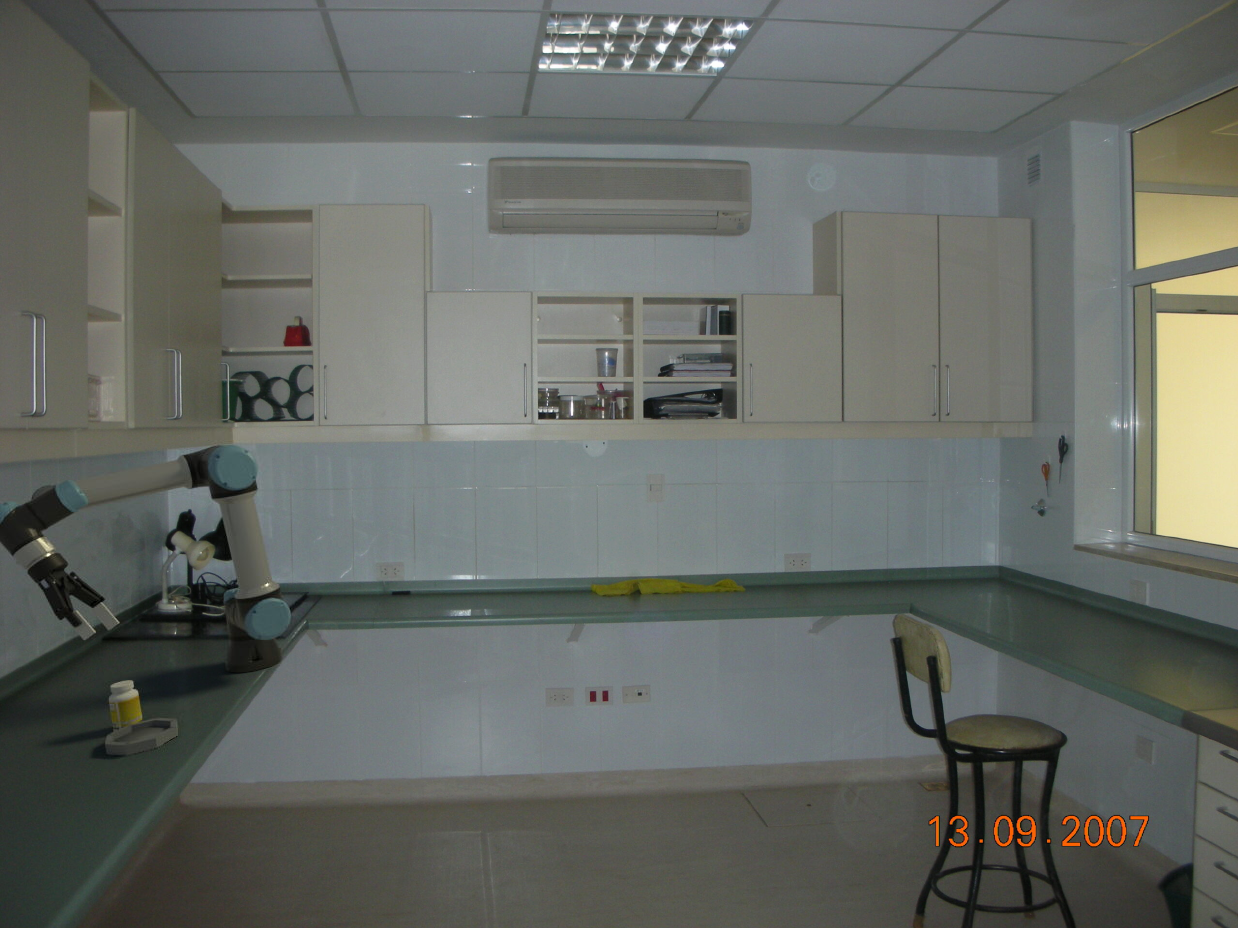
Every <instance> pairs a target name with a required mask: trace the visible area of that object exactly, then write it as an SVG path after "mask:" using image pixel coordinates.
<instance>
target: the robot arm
mask: <svg viewBox="0 0 1238 928" xmlns="http://www.w3.org/2000/svg"><path fill="white" fill-rule="evenodd" d="M258 472H259V465H258V462H257V459H256V457H255V456H254V455H253V454H252V452H251V451H249V450H247V449H246V448H244V447H241V446H239V445H235V444H234V445H233V444H223V445H222V444H221V445H219V444H218V445H213V446H210V447H206V448H204V449H200V450H196V451H194V452H190V453H187V454H181V455H179V456H178V458H177V459H175V460H169V461H165V462H161V463H160V462H159V463H155V464H151V465H150V464H149V465H147V466H146V465H144V466H140V467H136V468H130V469H125V470H121V471H117V472H111V473H107V474H102V475H97V476H92V477H88V478H83V479H78V480H72V479H66V480H65V481H62V482H60V483H57V484H52V485H51V484H49V485H44V486H40V487H39V488H37V489H36V490H34V492H33V493H32V495H31V499H30V500H28V501H27V502H25V503H22V504H21V505H20V504H19V503H17V502H16V501H14V500H10V501H5V502H4V503H2V504H0V544H1V545H2V546H3V547H4V548H5V549H6V551H8V553H9V554H10V555H11V556H12V558H14V560H15V563H16V565H20V567H22V569H23V570H27V571H26V572H27V574H28V576H29V577H30V578H31V579H32V581H33V582H34V583H35V584H37V585H38V587H39V588H40V589H41V590H42V592H43V594H44V596H45V599H46V600H47V602H48V603H49V606H50V608H51V610H52V612H53V614H54V615H55V617H57V619H58V620H59V621H63V619H65V621H67V622H68V624H69V625H70V626H71V627H72V629H74V631H75V632H76V633H77V634H78V635H79V637H81V639H82V640H83V641H86V640H88V639H89V638H90V637H91V636H93V635H94V634H96V633H97V632H96V630H95V629H94V627H92V626H91V625H90V623H89V622H88V621H87V620H86V618H85V617H84V616H83V615H82V614H81V613H80V611H78V610H75V609H74V606H73V603H72V601H71V596H72V597H74V598H75V599H77V600H78V601H80V602H82V603H84V604H85V605H86V606H88V607H90V608H91V609H90V610H91V612H92V613H93V614H94V615H95V616H96V617H97V619H98V620H99V621H100V622H101V624H102V625H104V627H105V628H106V629H107V631H110V630H112V629H113V628H114V627H116V626H117V625H118V624H120V621H119V620H118V619H117V618H116V616H114V614H113V613H112V612H111V611H110V609H108V607H107V606H106V605H105V604H104V603H103V602H105V601H106V599H105V597H104V596H102V595H101V593H99V592H97V590H95V589H94V588H92V587H91V586H90V585H89V584H88V583H86V582H85V580H83V579H82V578H80V577H79V576H78V574H77V573H76V572H74V571H71V572H70V573H67V572H66V571H65V569H66V568H67V567H68V566H69V562H68V561H67V560H66V559H65V558H64V556H63V555H62V554H61V553H59V552H57V548H56V547H55V545H54V544H52V542H51V541H50V540H49V539H48V537H46V536H45V535H44V534H43V532H44V531H45V530H47V529H49V528H50V527H52V526H54V525H56V524H58V523H59V522H61V521H63V520H64V519H66V518H68V517H70V516H71V515H73V514H75V513H78V512H79V511H81V510H84V509H89V508H93V507H98V506H102V505H108V504H112V503H117V502H122V501H125V500H130V499H135V498H138V497H144V496H149V495H152V494H157V493H161V492H166V491H172V490H175V489H180V488H186V489H187V490H191V489H197V488H206V487H208V489H209V493H210V498H211V500H212V501H213V502H215V503H217V504H218V505H219V507H220V513H221V516H222V517H221V518H222V521H223V522H222V523H223V526H224V531H225V534H226V537H227V543H228V547H229V551H230V555H231V560H232V563H233V569H234V572H235V573H234V574H235V577H236V582H237V585H238V587H236V588H232V589H228V590H226V591H225V592H224V593H223V605H224V612H225V617H226V625H227V632H228V633H227V634H228V640H229V642H228V643H229V644H228V649H227V653H226V659H225V668H226V671H227V672H230V673H248V672H254V671H260V670H263V669H266V668H269V667H272V666H274V665H277V664H278V663H280V662H281V661H282V660H283V652H282V649H281V648H280V647H279V644H278V641H277V640H276V638H278V637H279V636H281V635H282V634H283V633H284V632H285V631H286V629H287V628H288V627H289V625H290V622H291V618H292V617H291V616H292V614H291V610H290V608H289V605H288V603H286V602H285V601H284V599H283V594H282V591H281V586H280V584H279V583H278V582H275V581H274V580H273V577H272V574H271V569H270V565H269V564H270V563H269V560H268V555H267V551H266V547H265V543H264V538H263V534H262V528H261V524H260V521H259V520H260V519H259V516H258V511H257V506H256V503H255V495H256V494H257V493H258V491H259V488H258V483H257V479H256V478H257V477H258Z"/></svg>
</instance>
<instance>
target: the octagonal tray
mask: <svg viewBox="0 0 1238 928" xmlns="http://www.w3.org/2000/svg"><path fill="white" fill-rule="evenodd" d="M176 736H178V737H179V728H178V719H177V718H164V717H154V718H150V719H148V720H147V719H146V720H143V721H142V722H137V723H133V724H129V725H127V726H125V727H123V728H121V729H119V730H117V731H115V732H114V731H112V732H110V733H109V734H107V735H106V738H105V742H104V743H105V744H104V745H105V752H106V755H110V756H114V755H115V756H127V757H128V756H131V755H135V753H136V754H139V752H140V753H143V751H144V752H147V751H152V750H155V749H154V748H156V749H158V748H160V747H162V746H164V745H165V744H164V743H165V742H167V741H169V740H170V739H172V738H174V737H176ZM169 742H170V741H169ZM163 744H164V745H163ZM161 745H162V746H161ZM159 746H160V747H159ZM157 747H158V748H157ZM151 749H152V750H151Z"/></svg>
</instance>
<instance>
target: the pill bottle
mask: <svg viewBox="0 0 1238 928" xmlns="http://www.w3.org/2000/svg"><path fill="white" fill-rule="evenodd" d="M134 687H135V686H134V681H133V680H131V679H130V680H128V679H127V680H122V681H119V682H115V683H112V684H111V685H110V692H111V695H109V698H108V705H109V709H110V710H109V711H110V718H111V723H112V724H111V725H112V730H113V732H115V731H117V730H119V729H121V728H123V727H125V726H127V725H129V724H133V723H137V722H142V721H144V720H143V713H142V708H141V703H140V695H139V691H138V690H137V689H136V688H135V689H134Z"/></svg>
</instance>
